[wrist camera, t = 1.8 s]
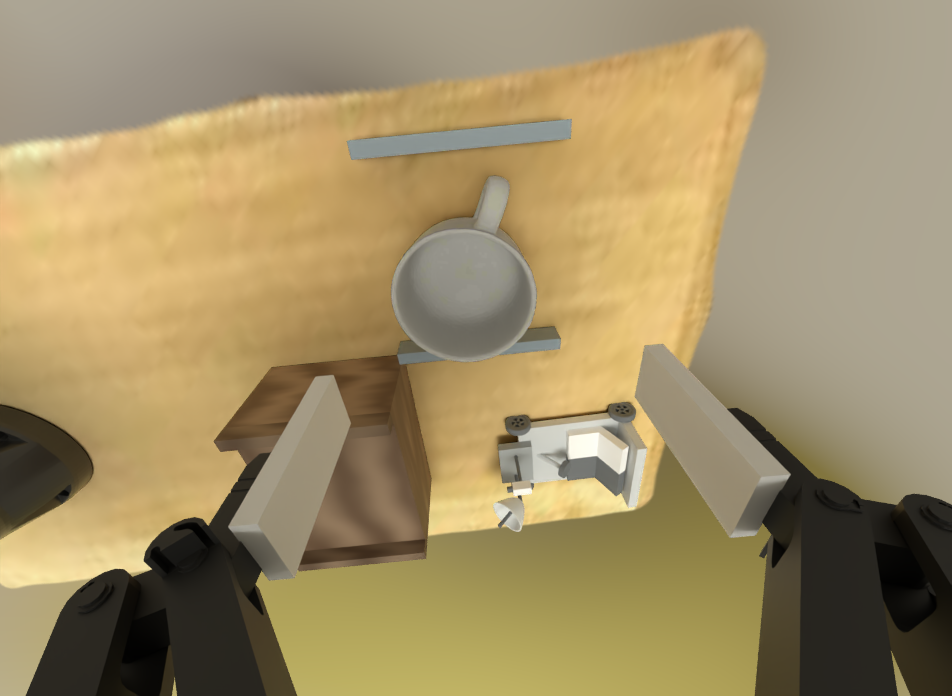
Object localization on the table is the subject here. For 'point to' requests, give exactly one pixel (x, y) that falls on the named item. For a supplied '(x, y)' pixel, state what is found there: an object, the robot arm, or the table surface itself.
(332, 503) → the walnut stand
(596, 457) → the toy rover
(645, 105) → the table surface
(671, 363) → the robot arm
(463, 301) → the teacup
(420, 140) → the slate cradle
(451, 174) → the table surface
